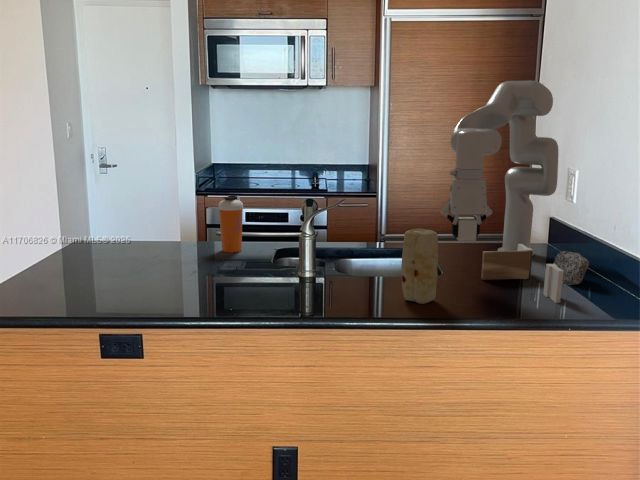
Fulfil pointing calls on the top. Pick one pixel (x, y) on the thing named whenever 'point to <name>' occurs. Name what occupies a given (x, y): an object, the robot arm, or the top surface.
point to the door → (506, 265)
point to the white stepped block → (467, 229)
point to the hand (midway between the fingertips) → (465, 236)
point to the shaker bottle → (231, 223)
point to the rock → (571, 266)
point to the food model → (419, 265)
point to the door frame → (550, 279)
